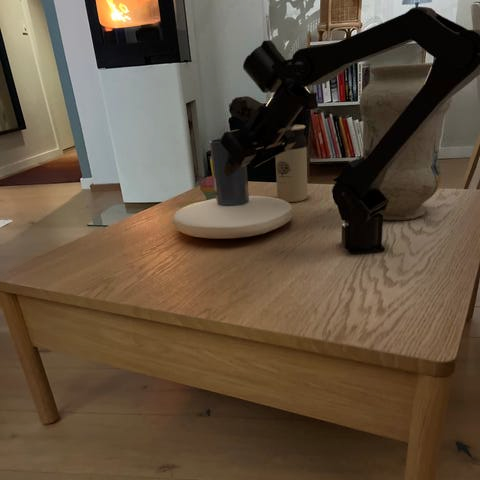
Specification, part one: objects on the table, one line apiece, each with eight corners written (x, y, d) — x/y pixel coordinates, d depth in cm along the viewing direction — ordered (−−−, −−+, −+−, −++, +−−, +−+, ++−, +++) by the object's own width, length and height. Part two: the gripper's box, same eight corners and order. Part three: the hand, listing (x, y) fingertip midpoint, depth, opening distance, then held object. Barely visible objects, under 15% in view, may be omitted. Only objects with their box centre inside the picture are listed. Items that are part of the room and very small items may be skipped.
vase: (424, 200, 115) (437, 59, 101) (451, 220, 99) (472, 57, 85) (349, 205, 116) (352, 67, 102) (364, 227, 100) (370, 67, 86)
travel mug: (294, 193, 131) (292, 124, 123) (313, 198, 125) (312, 125, 117) (271, 199, 128) (267, 128, 119) (290, 204, 122) (287, 129, 113)
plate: (193, 193, 120) (298, 190, 115) (195, 219, 123) (298, 217, 117) (152, 212, 95) (284, 209, 89) (156, 244, 98) (285, 243, 92)
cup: (256, 200, 104) (251, 137, 98) (231, 207, 100) (225, 143, 94) (234, 196, 109) (229, 136, 103) (210, 203, 105) (203, 141, 99)
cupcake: (198, 201, 133) (193, 156, 128) (227, 196, 135) (223, 152, 130) (206, 208, 126) (200, 161, 120) (236, 203, 128) (232, 156, 122)
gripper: (281, 76, 95) (242, 134, 107) (222, 83, 83) (185, 148, 94) (316, 117, 94) (273, 172, 106) (262, 131, 82) (220, 191, 93)
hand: (239, 170), depth 100 cm, fingers open, 9 cm apart
